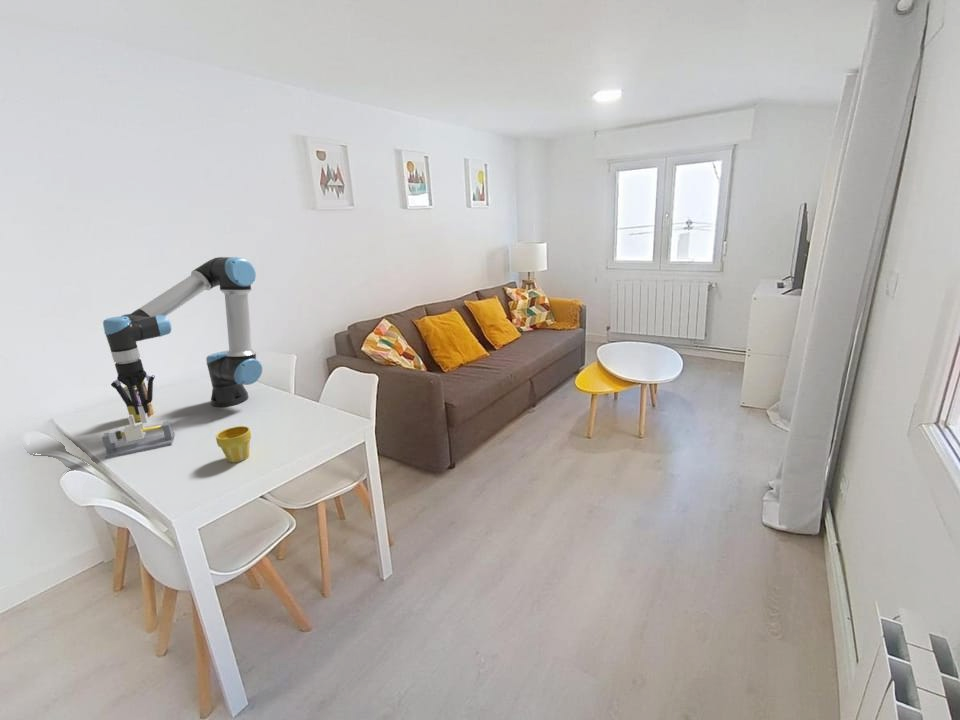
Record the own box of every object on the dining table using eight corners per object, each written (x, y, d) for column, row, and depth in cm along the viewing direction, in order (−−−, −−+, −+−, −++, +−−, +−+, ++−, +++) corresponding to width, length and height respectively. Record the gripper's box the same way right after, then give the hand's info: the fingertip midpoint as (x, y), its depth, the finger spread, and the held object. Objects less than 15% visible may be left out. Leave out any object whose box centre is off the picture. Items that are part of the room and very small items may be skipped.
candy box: (144, 413, 199) (135, 381, 195) (154, 413, 199) (145, 380, 195) (130, 422, 191) (120, 388, 186) (140, 421, 191) (131, 387, 186)
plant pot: (229, 451, 162) (224, 426, 159) (259, 449, 163) (254, 424, 160) (216, 466, 152) (209, 440, 149) (248, 464, 153) (242, 438, 150)
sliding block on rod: (175, 434, 178) (170, 416, 175) (171, 444, 169) (166, 425, 167) (112, 447, 169) (106, 428, 167) (105, 458, 161) (98, 438, 158)
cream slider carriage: (145, 433, 171) (139, 412, 168) (143, 438, 167) (137, 417, 164) (129, 436, 169) (123, 415, 166) (127, 441, 165) (120, 420, 162)
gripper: (151, 355, 167) (167, 414, 174) (107, 361, 161) (126, 421, 168) (147, 360, 160) (164, 421, 167) (101, 366, 155) (121, 429, 162)
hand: (145, 421), depth 168 cm, fingers closed
